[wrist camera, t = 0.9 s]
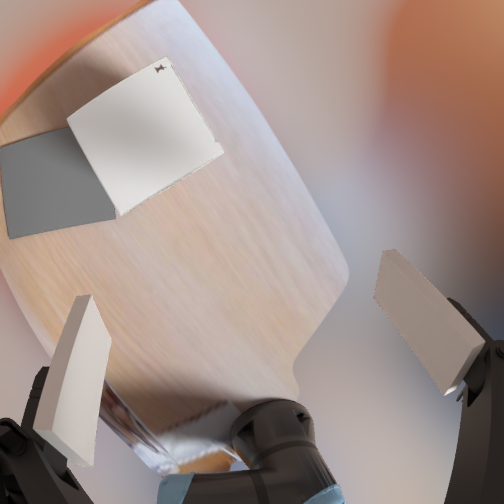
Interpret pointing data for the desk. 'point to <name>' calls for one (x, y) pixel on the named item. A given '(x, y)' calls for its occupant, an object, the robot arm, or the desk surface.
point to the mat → (50, 185)
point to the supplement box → (144, 135)
